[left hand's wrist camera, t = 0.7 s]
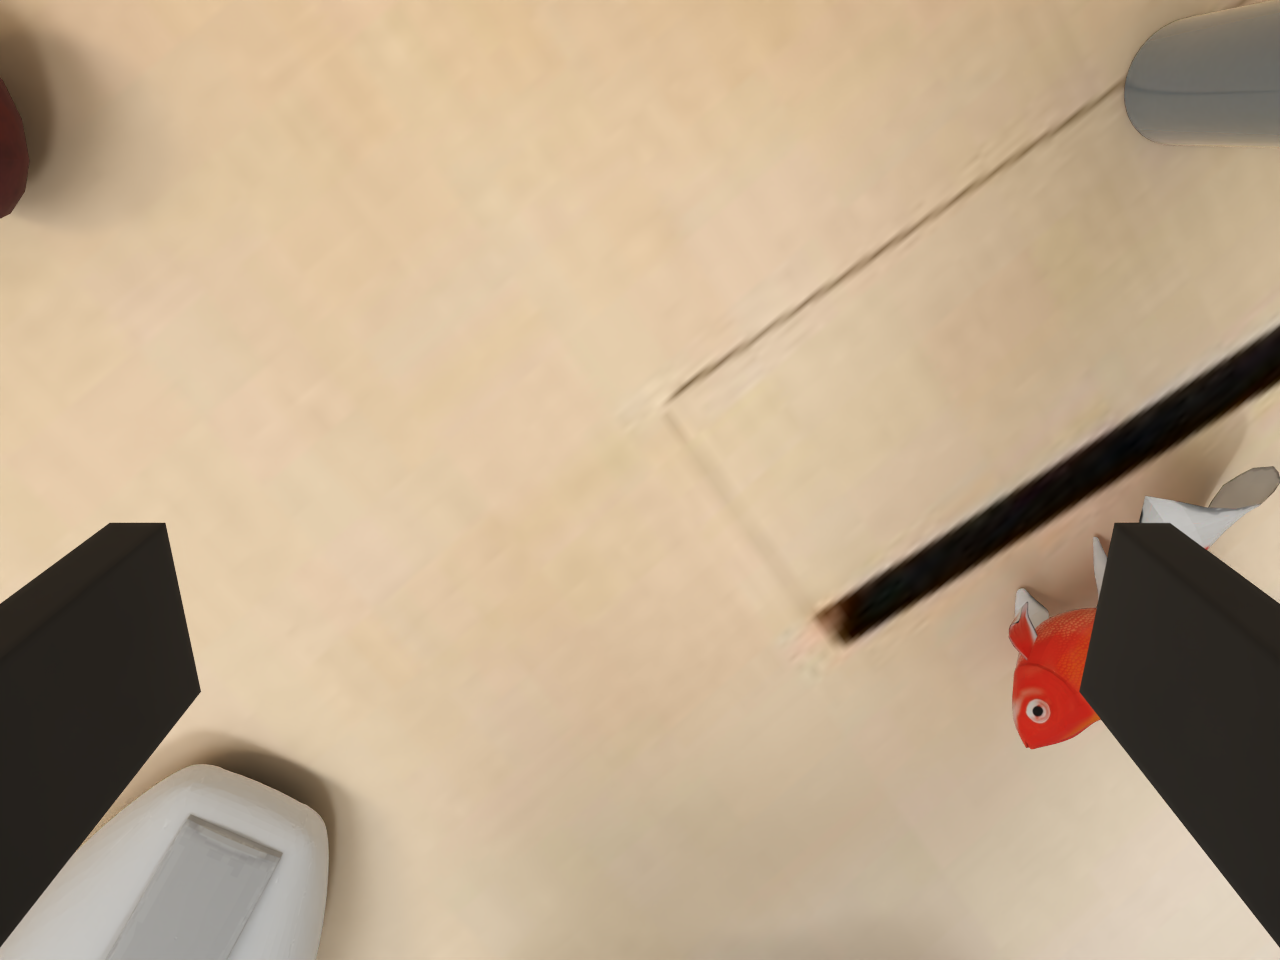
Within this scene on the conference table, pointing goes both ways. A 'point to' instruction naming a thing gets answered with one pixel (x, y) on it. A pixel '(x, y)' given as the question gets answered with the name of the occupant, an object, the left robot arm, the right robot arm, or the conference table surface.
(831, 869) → the conference table surface
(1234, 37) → the bottle
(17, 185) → the dark brown ball
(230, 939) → the projector
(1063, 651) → the fish
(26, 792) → the left robot arm
